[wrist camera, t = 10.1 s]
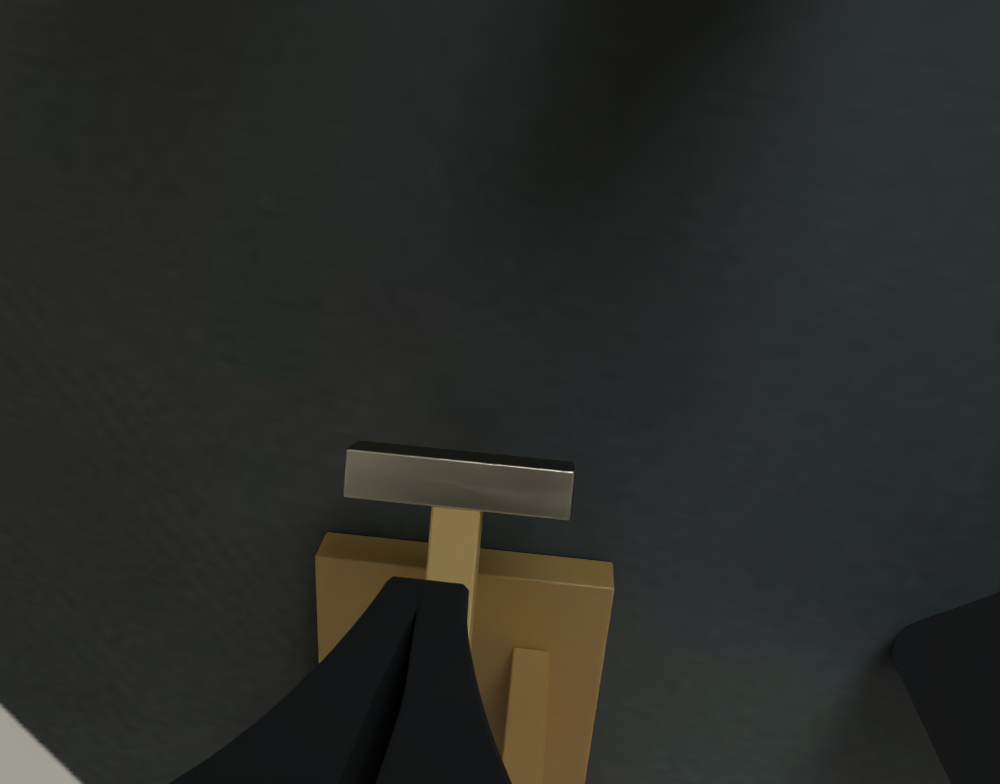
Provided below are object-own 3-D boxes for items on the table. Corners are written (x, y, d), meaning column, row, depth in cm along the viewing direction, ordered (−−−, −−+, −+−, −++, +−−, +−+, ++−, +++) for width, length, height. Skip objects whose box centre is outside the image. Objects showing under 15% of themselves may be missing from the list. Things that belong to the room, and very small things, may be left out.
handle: (363, 434, 20) (338, 453, 18) (573, 456, 20) (576, 477, 17) (332, 861, 21) (305, 932, 19) (530, 886, 21) (527, 961, 19)
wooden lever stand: (326, 530, 23) (216, 759, 16) (613, 561, 23) (627, 809, 16) (333, 760, 27) (246, 1025, 20) (579, 790, 27) (578, 1070, 20)
